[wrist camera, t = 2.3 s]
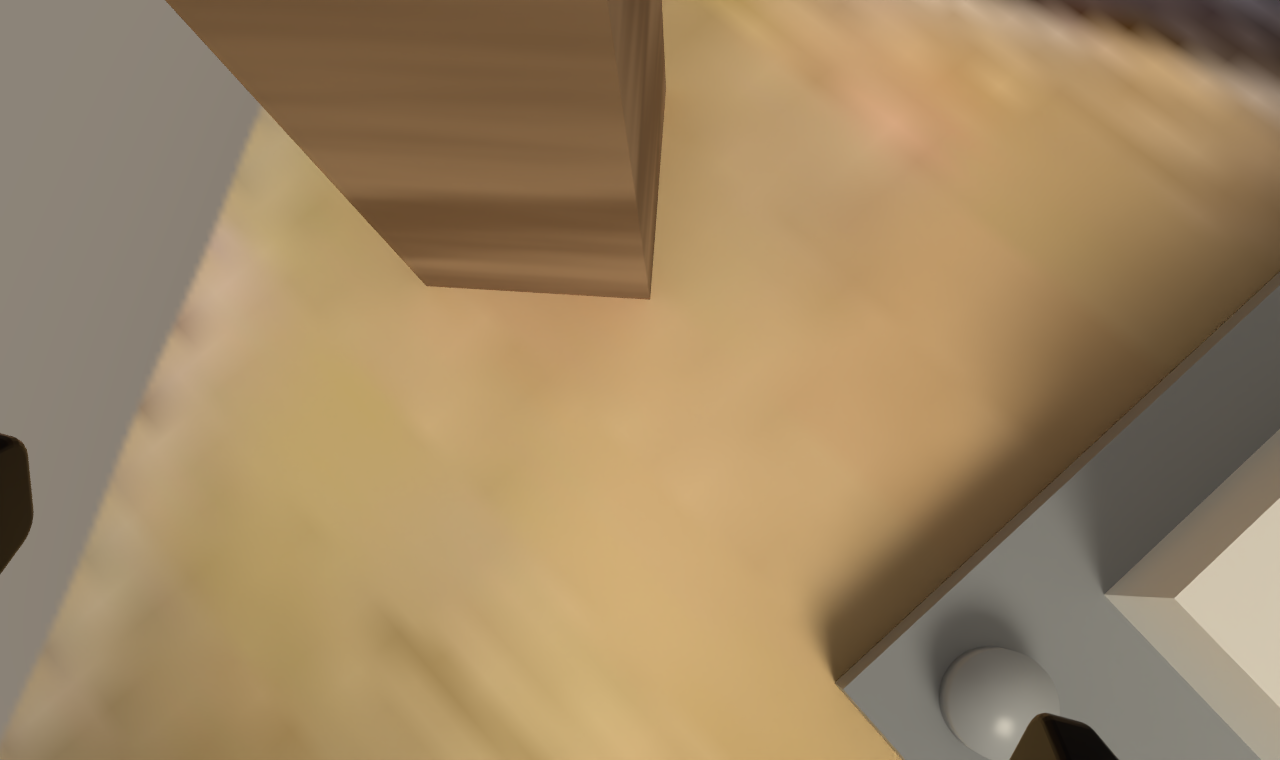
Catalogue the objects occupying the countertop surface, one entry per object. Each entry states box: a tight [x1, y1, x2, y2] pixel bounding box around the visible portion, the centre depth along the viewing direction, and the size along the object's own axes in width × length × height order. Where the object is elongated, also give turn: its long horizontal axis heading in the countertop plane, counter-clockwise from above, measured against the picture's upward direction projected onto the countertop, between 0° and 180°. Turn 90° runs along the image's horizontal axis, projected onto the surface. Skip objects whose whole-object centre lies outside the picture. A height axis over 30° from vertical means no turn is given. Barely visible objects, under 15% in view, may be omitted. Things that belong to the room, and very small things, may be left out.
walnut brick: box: [166, 0, 666, 299], centre depth 18 cm, size 5×5×12 cm
